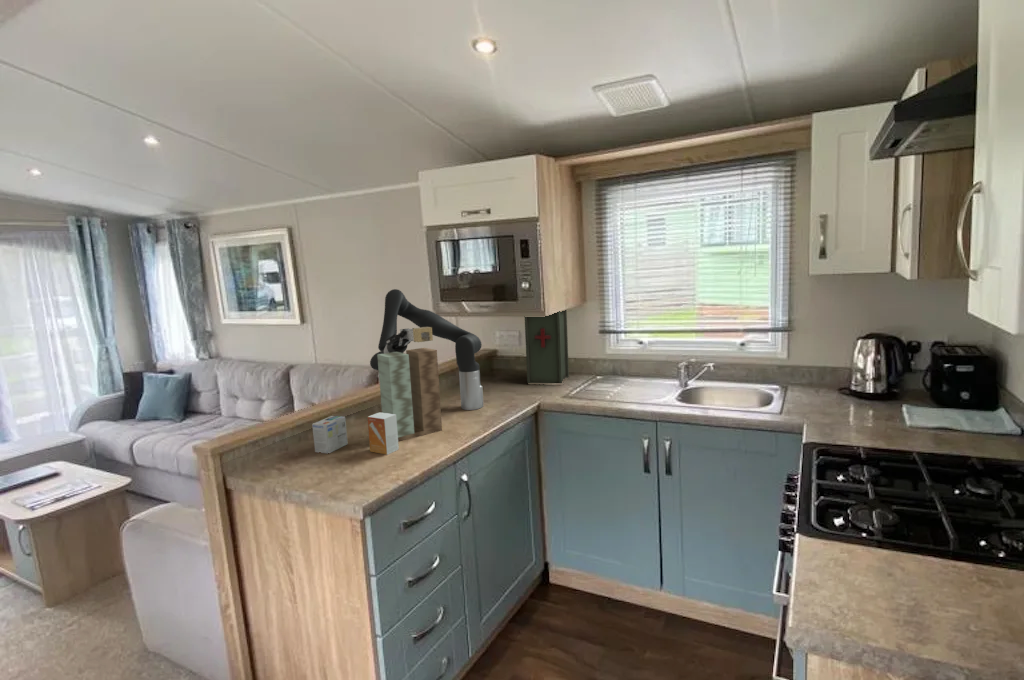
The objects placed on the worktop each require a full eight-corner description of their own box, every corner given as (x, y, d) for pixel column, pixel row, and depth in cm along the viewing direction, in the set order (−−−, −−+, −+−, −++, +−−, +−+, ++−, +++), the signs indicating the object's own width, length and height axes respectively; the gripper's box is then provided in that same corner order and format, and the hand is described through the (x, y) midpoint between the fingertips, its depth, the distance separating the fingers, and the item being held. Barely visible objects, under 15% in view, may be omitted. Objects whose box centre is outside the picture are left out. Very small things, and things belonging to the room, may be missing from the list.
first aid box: (568, 378, 296) (566, 305, 291) (561, 385, 279) (559, 308, 273) (536, 377, 302) (533, 306, 296) (527, 384, 284) (524, 309, 279)
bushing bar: (411, 336, 221) (410, 324, 220) (432, 340, 207) (431, 327, 206) (397, 338, 217) (396, 326, 217) (418, 342, 203) (417, 329, 203)
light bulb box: (334, 442, 203) (331, 415, 201) (348, 444, 200) (346, 416, 199) (314, 452, 193) (311, 423, 191) (329, 454, 190) (326, 424, 189)
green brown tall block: (429, 425, 220) (424, 347, 215) (442, 430, 212) (436, 350, 207) (383, 436, 208) (377, 354, 203) (395, 442, 200) (388, 357, 195)
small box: (369, 452, 190) (366, 416, 188) (382, 446, 196) (379, 411, 194) (387, 455, 186) (384, 418, 184) (399, 449, 192) (396, 414, 190)
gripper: (377, 342, 224) (391, 324, 211) (407, 338, 233) (423, 320, 220) (382, 358, 222) (396, 341, 209) (412, 354, 231) (428, 336, 218)
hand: (410, 330), depth 215 cm, fingers closed on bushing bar, 3 cm apart
